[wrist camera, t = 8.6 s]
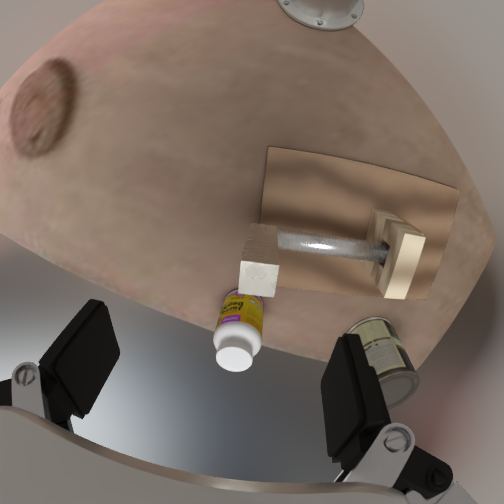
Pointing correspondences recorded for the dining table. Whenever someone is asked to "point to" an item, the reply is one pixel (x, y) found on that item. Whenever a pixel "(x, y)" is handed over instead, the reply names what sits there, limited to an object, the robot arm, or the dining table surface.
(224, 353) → the supplement bottle
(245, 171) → the dining table surface
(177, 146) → the dining table surface
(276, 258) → the crank handle
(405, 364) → the coffee can
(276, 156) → the bearing stand
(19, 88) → the dining table surface
